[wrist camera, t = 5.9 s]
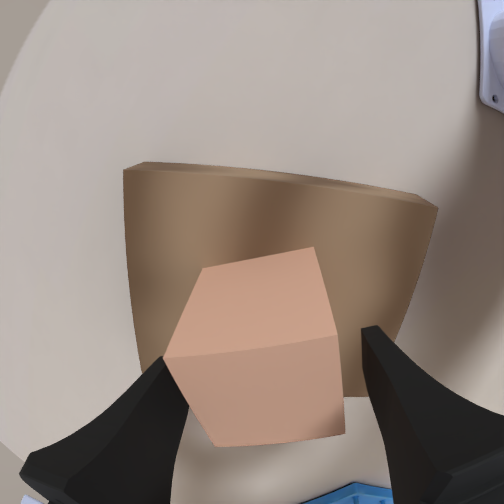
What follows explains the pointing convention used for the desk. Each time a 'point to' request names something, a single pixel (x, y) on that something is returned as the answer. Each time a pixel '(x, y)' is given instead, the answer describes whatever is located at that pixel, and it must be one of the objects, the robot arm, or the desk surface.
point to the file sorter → (356, 495)
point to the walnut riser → (271, 245)
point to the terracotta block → (260, 352)
